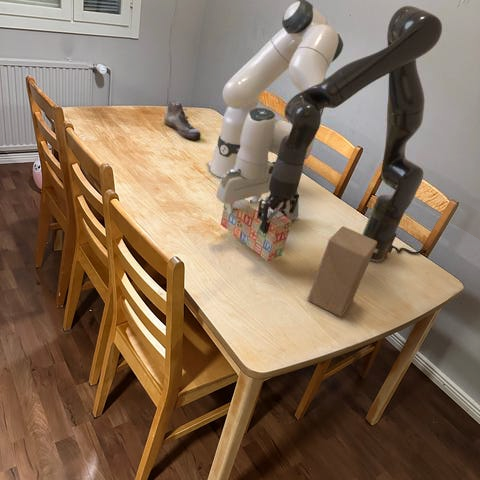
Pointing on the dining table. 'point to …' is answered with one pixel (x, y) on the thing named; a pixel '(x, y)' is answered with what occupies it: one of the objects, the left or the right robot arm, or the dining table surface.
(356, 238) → the wooden block
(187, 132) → the shoe
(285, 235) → the stack of blocks
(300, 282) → the dining table surface
